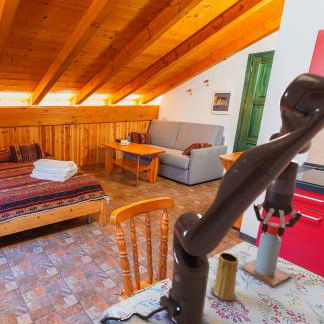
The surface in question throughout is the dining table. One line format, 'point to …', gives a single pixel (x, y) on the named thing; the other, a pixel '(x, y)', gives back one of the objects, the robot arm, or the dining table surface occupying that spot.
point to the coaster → (270, 280)
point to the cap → (273, 228)
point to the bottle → (268, 254)
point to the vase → (226, 276)
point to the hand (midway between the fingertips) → (271, 233)
